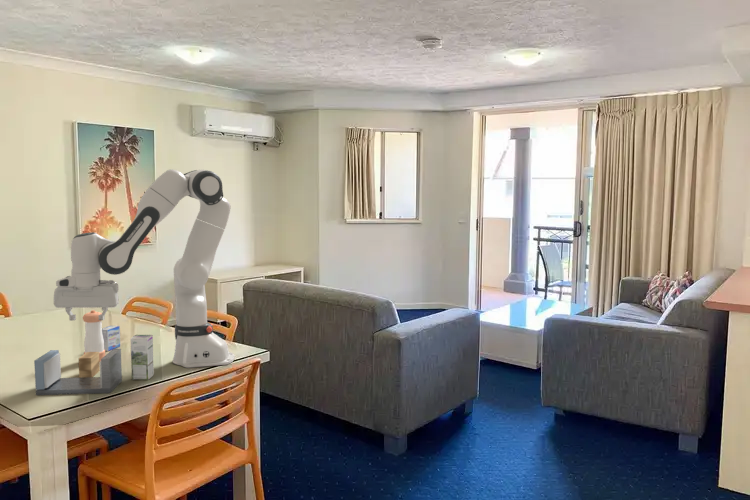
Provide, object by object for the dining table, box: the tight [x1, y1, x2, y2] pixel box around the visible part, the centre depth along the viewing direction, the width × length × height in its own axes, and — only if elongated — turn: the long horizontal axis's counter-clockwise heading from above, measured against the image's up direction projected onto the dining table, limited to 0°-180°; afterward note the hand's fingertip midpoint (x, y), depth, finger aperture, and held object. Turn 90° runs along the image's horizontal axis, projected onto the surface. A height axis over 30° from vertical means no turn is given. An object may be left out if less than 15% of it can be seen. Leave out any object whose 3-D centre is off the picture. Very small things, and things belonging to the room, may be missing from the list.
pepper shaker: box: [82, 309, 106, 363], centre depth 216 cm, size 7×7×19 cm
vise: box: [35, 348, 123, 396], centre depth 187 cm, size 22×12×11 cm, turn 97°
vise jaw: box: [33, 349, 62, 391], centre depth 186 cm, size 3×12×9 cm, turn 7°
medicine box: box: [102, 325, 121, 352], centre depth 234 cm, size 8×4×9 cm, turn 168°
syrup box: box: [130, 334, 155, 381], centre depth 198 cm, size 6×6×14 cm
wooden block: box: [78, 352, 100, 378], centre depth 201 cm, size 4×8×7 cm, turn 7°
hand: (87, 320), depth 199 cm, fingers open, 8 cm apart
